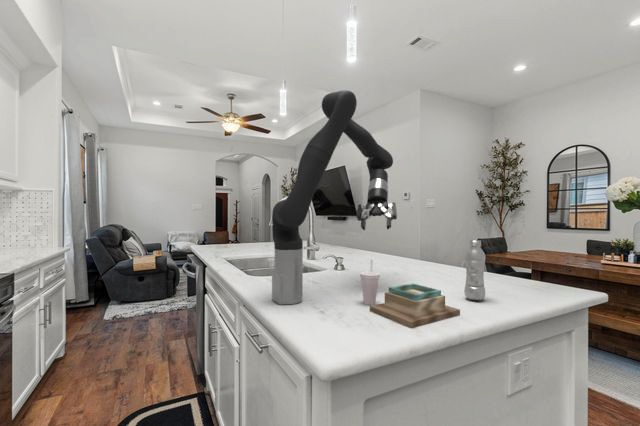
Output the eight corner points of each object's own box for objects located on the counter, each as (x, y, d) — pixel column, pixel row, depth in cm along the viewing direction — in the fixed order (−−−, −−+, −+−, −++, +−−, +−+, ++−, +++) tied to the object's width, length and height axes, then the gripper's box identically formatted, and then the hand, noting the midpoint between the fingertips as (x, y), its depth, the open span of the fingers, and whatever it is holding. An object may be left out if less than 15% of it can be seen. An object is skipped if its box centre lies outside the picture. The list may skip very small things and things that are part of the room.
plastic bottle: (464, 301, 106) (465, 240, 106) (463, 296, 112) (464, 239, 112) (486, 303, 103) (487, 241, 103) (484, 298, 110) (485, 239, 109)
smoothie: (379, 307, 99) (379, 261, 99) (358, 305, 101) (358, 261, 101) (379, 301, 106) (380, 258, 106) (360, 300, 107) (360, 258, 107)
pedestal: (411, 328, 82) (411, 300, 82) (369, 311, 95) (369, 287, 95) (460, 314, 92) (460, 290, 92) (416, 301, 106) (416, 279, 106)
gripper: (357, 188, 122) (353, 223, 113) (395, 185, 118) (395, 221, 109) (361, 200, 128) (357, 234, 119) (397, 198, 123) (397, 233, 114)
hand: (375, 228), depth 114 cm, fingers open, 8 cm apart
